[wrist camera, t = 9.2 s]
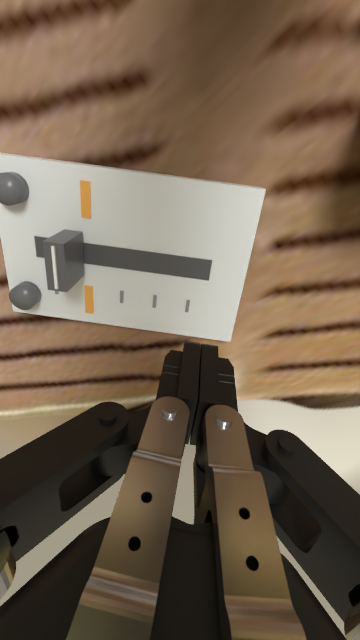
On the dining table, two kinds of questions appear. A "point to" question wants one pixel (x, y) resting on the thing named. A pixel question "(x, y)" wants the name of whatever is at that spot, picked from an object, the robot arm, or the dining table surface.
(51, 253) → the fader tab
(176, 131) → the dining table surface
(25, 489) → the robot arm
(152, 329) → the console board
